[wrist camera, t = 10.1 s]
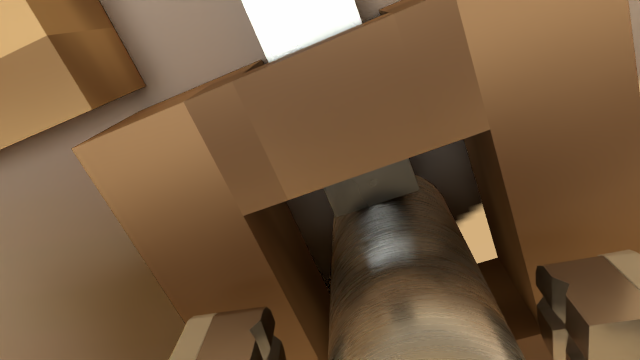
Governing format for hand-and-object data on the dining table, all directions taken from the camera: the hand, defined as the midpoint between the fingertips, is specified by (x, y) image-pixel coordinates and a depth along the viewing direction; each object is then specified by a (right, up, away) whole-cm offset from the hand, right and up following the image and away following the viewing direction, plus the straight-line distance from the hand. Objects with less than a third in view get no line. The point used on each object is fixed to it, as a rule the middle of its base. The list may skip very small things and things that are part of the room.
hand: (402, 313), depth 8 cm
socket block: (0, +2, +4) cm, 4 cm away
